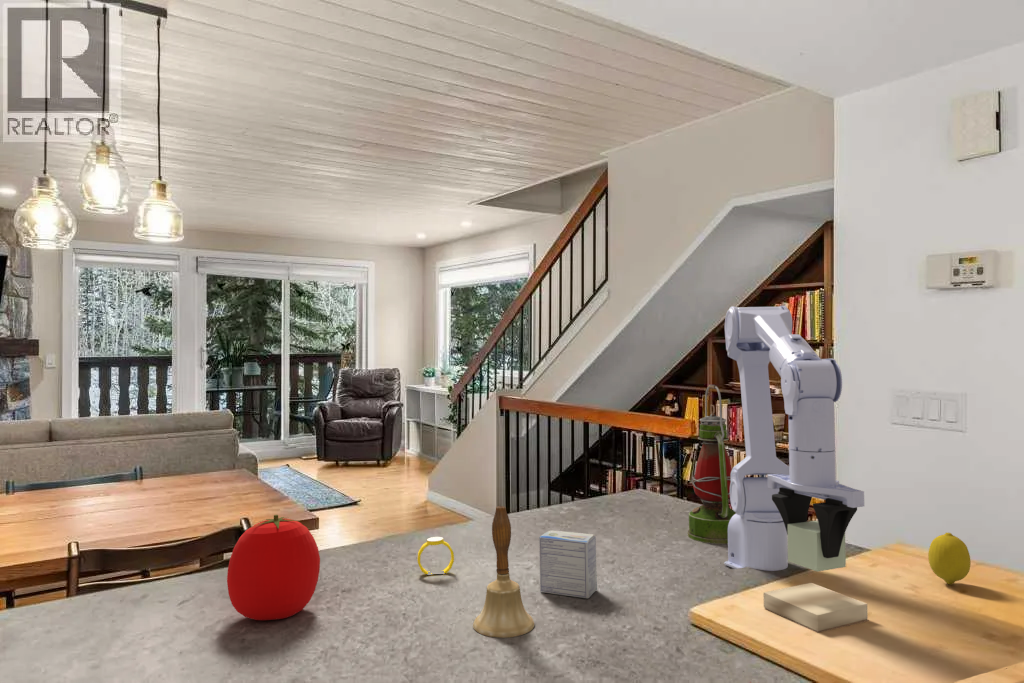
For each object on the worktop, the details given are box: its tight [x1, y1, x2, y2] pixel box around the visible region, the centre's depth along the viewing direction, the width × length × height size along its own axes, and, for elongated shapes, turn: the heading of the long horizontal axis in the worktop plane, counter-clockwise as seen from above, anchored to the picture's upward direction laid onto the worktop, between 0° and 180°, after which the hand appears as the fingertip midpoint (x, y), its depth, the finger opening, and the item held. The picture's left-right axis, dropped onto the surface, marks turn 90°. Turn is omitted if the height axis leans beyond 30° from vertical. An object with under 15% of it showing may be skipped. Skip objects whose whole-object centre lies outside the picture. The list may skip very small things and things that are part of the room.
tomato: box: [226, 514, 321, 621], centre depth 98 cm, size 13×11×14 cm
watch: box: [416, 536, 455, 575], centre depth 115 cm, size 6×3×6 cm, turn 102°
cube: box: [787, 520, 847, 572], centre depth 93 cm, size 5×5×5 cm
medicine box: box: [538, 529, 598, 599], centre depth 106 cm, size 8×4×9 cm, turn 65°
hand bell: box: [472, 505, 535, 639], centre depth 93 cm, size 8×8×16 cm
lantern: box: [687, 384, 736, 545], centre depth 137 cm, size 14×11×30 cm
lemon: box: [927, 532, 972, 585], centre depth 107 cm, size 6×6×8 cm
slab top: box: [763, 582, 869, 631], centre depth 92 cm, size 9×9×2 cm
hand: (813, 551), depth 92 cm, fingers closed on cube, 5 cm apart
